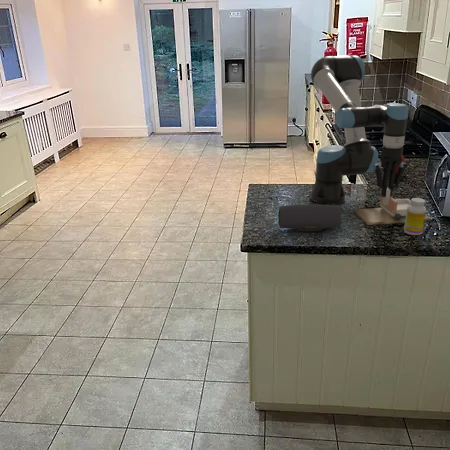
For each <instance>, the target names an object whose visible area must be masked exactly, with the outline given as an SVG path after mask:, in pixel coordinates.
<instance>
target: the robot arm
mask: <svg viewBox="0 0 450 450" xmlns="http://www.w3.org/2000/svg"><path fill="white" fill-rule="evenodd" d="M365 72H366V69H365V63H364V61H363V59H362V58H361V57H360V56H358V55H352V54H347V55H334V56H333V55H329V56H323V57H321V58H319V59H318V60H317V61H316V62H315V63H314V64H313V66H312V68H311V71H310V78H311V82H312V84H313V85H314V87H315V88H316V89H319V90H320V91H321V93H322V94H323V96H324V97H325V98H326V100H327V102H328V103H329V104H330V105H331V107H332V108H333V110H334V111H335V119H334V120H335V124H336V126H337V127H338V128H339V129H343V130H344V135H345V144H344V145H343V146H342V145H338V144H336V145H334V144H332V145H327V146H323V147H321V148H320V149H319V150H318V151H317V154H316V155H317V156H316V161H315V162H316V164H315V167H316V168H315V181H314V183H313V187H312V190H311V191H310V199H311V198H312V199H313V200H315V201H317V202H321V203H320V204H322V203H326V204H325V205H336V204H335V203H338V204H341V203H344V202H345V198H346V194H345V190H344V185H343V177H344V176H354V175H365V174H371V173H373V171H374V170H375V175H376V183H377V185H376V186H377V187H378V188H380V189H381V192H382V193H381V194H380V196H381V195H382V197H383V202H382V203H383V204H384V205H389V199H390V197H392V196H393V191H394V190H395V188H398V187H399V185H400V183H401V180H402V177H403V174H404V172H405V170H406V169H407V167H408V163H407V162H402V155H403V152H404V147H403V146H404V144H405V139H406V132H407V131H406V130H407V126H408V125H407V123H408V117H409V106H408V105H407V104H405V103H389V104H388V105H387V106H386V105H383V104H374V105H372V106H363V107H362V102H361V96H360V90H359V87H360V86H361V84H362V81H363V80H364V78H365ZM366 127H367V128H368V127H369V128H370V127H371V128H372V127H382V128H384V131H383V137H382V138H383V139H382V145H383V146H382V148H381V154H380V155H381V156H380V159H379V153H378V149H377V148H376V147H375V146H372V144H371V141H370V140H369V139H367V135H366V129H365V128H366ZM398 166H400V167H399V168H398ZM381 168H382V169H381ZM397 168H398V171H397ZM382 171H383V174H382ZM396 171H397V173H396ZM313 200H312V201H313ZM315 201H314V202H315ZM317 202H316V203H317Z"/></svg>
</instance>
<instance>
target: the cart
mask: <svg viewBox="0 0 450 450" xmlns="http://www.w3.org/2000/svg"><path fill="white" fill-rule="evenodd" d="M381 193H382V191H381ZM382 202H383V197H382V195H381V194H380V200H379V206H380V208H383V209H385V210H386V211H387V212H388V213H389V214H390V215H392V216H394V218H395V219H396V220H399V219H401V216H406V212H407V207H408V206H409V205H411V200H410V198H396V199H395V198H393V197H392V196H391V197H390V199H389V205H384V204H383V203H382Z"/></svg>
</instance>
